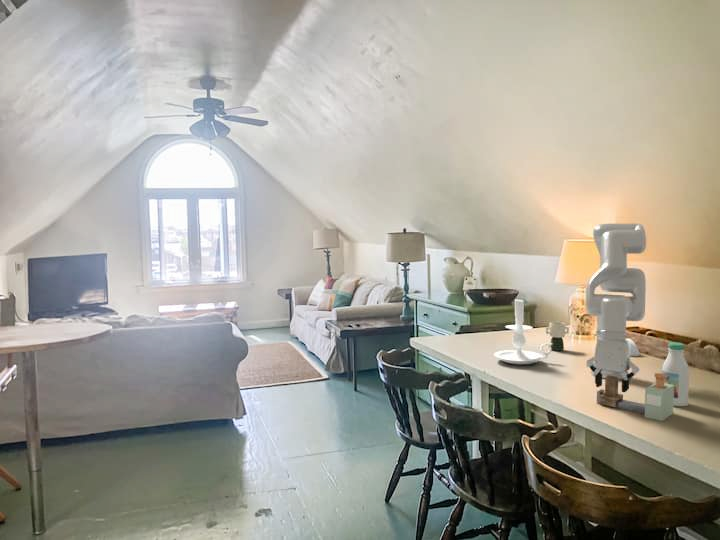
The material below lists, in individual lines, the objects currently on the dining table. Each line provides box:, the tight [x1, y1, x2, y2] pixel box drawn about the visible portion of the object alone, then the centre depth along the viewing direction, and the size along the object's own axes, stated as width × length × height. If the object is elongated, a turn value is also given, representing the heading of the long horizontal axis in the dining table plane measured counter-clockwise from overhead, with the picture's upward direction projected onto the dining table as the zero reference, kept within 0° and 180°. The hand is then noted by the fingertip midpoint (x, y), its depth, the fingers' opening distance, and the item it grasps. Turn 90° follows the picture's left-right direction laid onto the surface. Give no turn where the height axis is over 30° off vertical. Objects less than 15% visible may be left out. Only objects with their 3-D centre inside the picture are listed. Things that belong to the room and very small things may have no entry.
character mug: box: [545, 321, 570, 351], centre depth 262 cm, size 11×7×13 cm, turn 90°
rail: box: [596, 389, 645, 415], centre depth 178 cm, size 16×4×4 cm, turn 44°
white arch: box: [626, 337, 640, 358], centre depth 260 cm, size 24×12×7 cm, turn 9°
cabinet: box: [644, 382, 674, 422], centre depth 170 cm, size 5×10×9 cm, turn 134°
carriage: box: [598, 375, 624, 408], centre depth 180 cm, size 5×6×9 cm
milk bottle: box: [661, 342, 690, 407], centre depth 181 cm, size 8×8×20 cm
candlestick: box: [493, 298, 553, 365], centre depth 238 cm, size 21×25×28 cm
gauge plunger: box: [654, 372, 666, 389], centre depth 170 cm, size 3×3×7 cm
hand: (611, 388), depth 180 cm, fingers open, 7 cm apart
